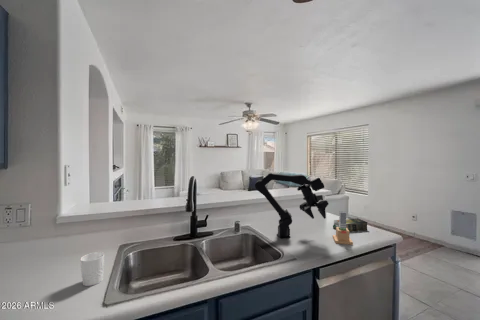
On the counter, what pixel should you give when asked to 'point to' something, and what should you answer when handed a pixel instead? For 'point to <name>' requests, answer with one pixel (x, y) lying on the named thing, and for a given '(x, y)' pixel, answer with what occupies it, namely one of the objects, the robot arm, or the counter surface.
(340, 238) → the jack stand base
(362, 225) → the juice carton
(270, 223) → the counter surface
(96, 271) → the white cup
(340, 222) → the jack stand column
